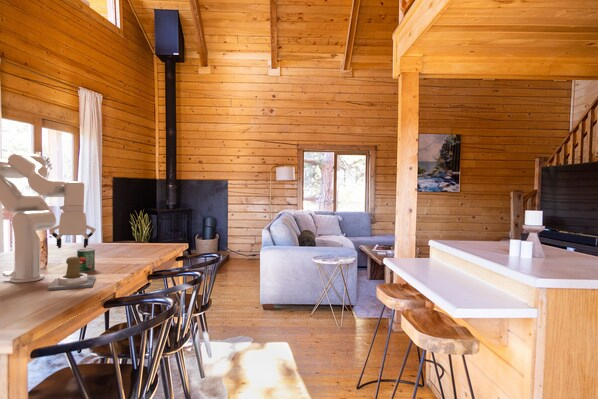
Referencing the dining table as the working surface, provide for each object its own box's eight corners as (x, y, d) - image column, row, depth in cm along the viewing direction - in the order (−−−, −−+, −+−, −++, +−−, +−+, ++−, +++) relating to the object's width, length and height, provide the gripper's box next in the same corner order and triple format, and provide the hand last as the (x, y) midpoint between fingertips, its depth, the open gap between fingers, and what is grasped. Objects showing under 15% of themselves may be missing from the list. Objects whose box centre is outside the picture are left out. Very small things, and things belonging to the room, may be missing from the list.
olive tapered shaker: (83, 280, 161) (84, 255, 160) (75, 283, 155) (75, 258, 154) (70, 279, 161) (70, 255, 160) (61, 283, 155) (61, 258, 154)
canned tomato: (97, 269, 188) (98, 248, 187) (88, 272, 180) (88, 251, 180) (83, 268, 188) (83, 248, 188) (73, 272, 180) (73, 250, 180)
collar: (47, 290, 147) (47, 281, 147) (55, 281, 161) (55, 273, 161) (91, 287, 154) (91, 278, 154) (95, 278, 168) (95, 270, 168)
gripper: (48, 209, 150) (47, 249, 150) (95, 210, 157) (94, 248, 158) (52, 208, 157) (50, 246, 157) (96, 209, 164) (95, 245, 164)
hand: (72, 247), depth 157 cm, fingers open, 9 cm apart
